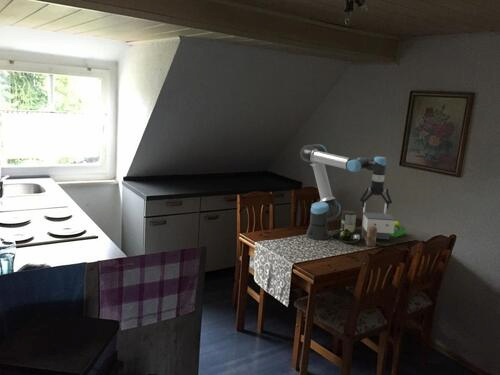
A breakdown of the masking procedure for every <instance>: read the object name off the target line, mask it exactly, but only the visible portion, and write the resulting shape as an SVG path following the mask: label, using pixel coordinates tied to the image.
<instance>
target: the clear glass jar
mask: <svg viewBox="0 0 500 375" xmlns="http://www.w3.org/2000/svg"><path fill="white" fill-rule="evenodd" d="M356 219H357V211H355V210H351V209H343V210H342V212H341V224H340V231H342V230H345V229H348V230H349V231H350V232H349V233H354V232H355V230H356V221H357V220H356Z"/></svg>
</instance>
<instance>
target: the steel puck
mask: <svg viewBox="0 0 500 375" xmlns="http://www.w3.org/2000/svg"><path fill="white" fill-rule="evenodd" d="M352 236H353V239H352V240H354V239H358V240H357V241H360V240H361V234H357V233H355V234H353V235H352Z"/></svg>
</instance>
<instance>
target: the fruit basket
mask: <svg viewBox="0 0 500 375" xmlns="http://www.w3.org/2000/svg"><path fill="white" fill-rule="evenodd" d="M406 230H407V228H406V227H403V226H400V222H399V221H397V219H396V221H395V225H394V233H390V236H392V237H394V238H397V237H401V236H404V235H405V232H406Z"/></svg>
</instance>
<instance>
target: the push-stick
mask: <svg viewBox="0 0 500 375" xmlns="http://www.w3.org/2000/svg"><path fill="white" fill-rule="evenodd" d="M376 235H377V228H376V227H371V226H368V228H367V237H366V236H365V237H364V238H363V239H364V241H365V244H366V246H367V247H376V243H377V242H376V241H377V239H376Z"/></svg>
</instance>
